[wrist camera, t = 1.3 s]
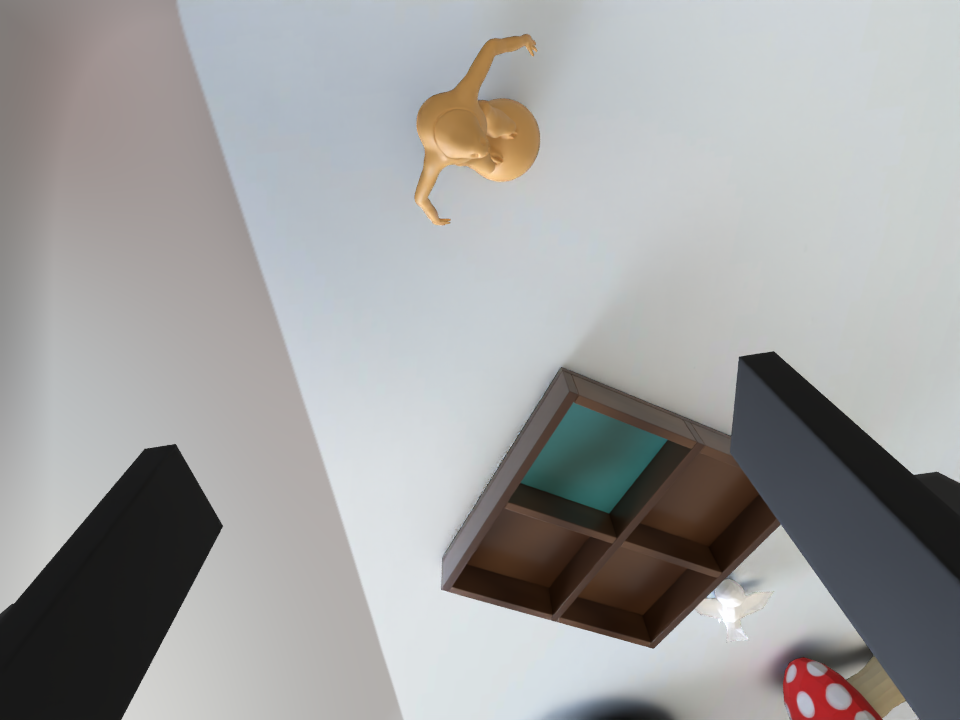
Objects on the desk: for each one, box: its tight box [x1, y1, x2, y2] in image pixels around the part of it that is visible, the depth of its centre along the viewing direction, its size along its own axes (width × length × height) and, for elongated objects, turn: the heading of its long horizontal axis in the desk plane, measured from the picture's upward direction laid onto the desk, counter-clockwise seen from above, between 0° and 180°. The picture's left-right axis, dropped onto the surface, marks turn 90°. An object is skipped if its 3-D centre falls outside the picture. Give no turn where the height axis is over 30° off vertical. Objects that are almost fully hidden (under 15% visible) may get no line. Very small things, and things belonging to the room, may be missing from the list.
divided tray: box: [441, 367, 781, 649], centre depth 41 cm, size 21×21×3 cm
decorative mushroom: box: [783, 656, 906, 720], centre depth 51 cm, size 11×11×15 cm
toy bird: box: [695, 579, 774, 643], centre depth 46 cm, size 8×5×5 cm, turn 96°
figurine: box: [415, 34, 540, 225], centre depth 23 cm, size 8×6×12 cm
